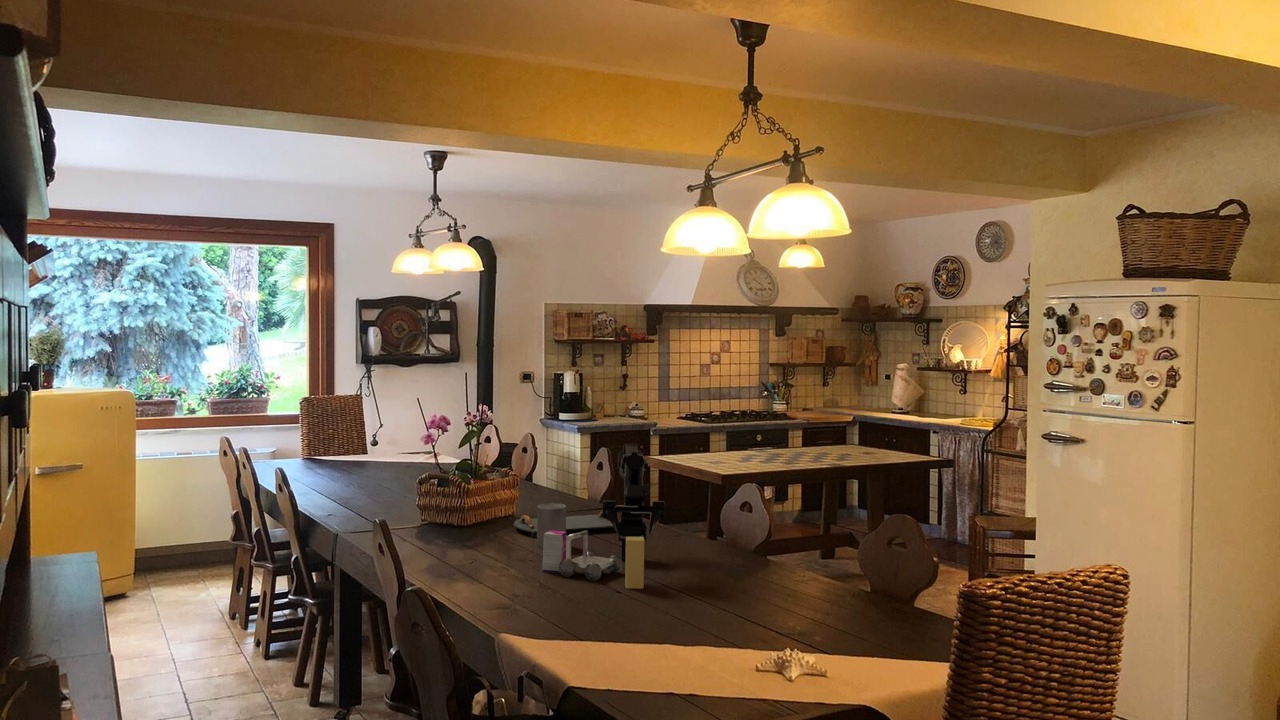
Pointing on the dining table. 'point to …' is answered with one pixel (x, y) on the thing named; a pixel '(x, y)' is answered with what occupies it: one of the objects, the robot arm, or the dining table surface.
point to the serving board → (571, 523)
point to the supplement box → (554, 550)
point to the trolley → (588, 560)
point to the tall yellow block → (634, 562)
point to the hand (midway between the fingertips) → (634, 533)
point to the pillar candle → (550, 520)
